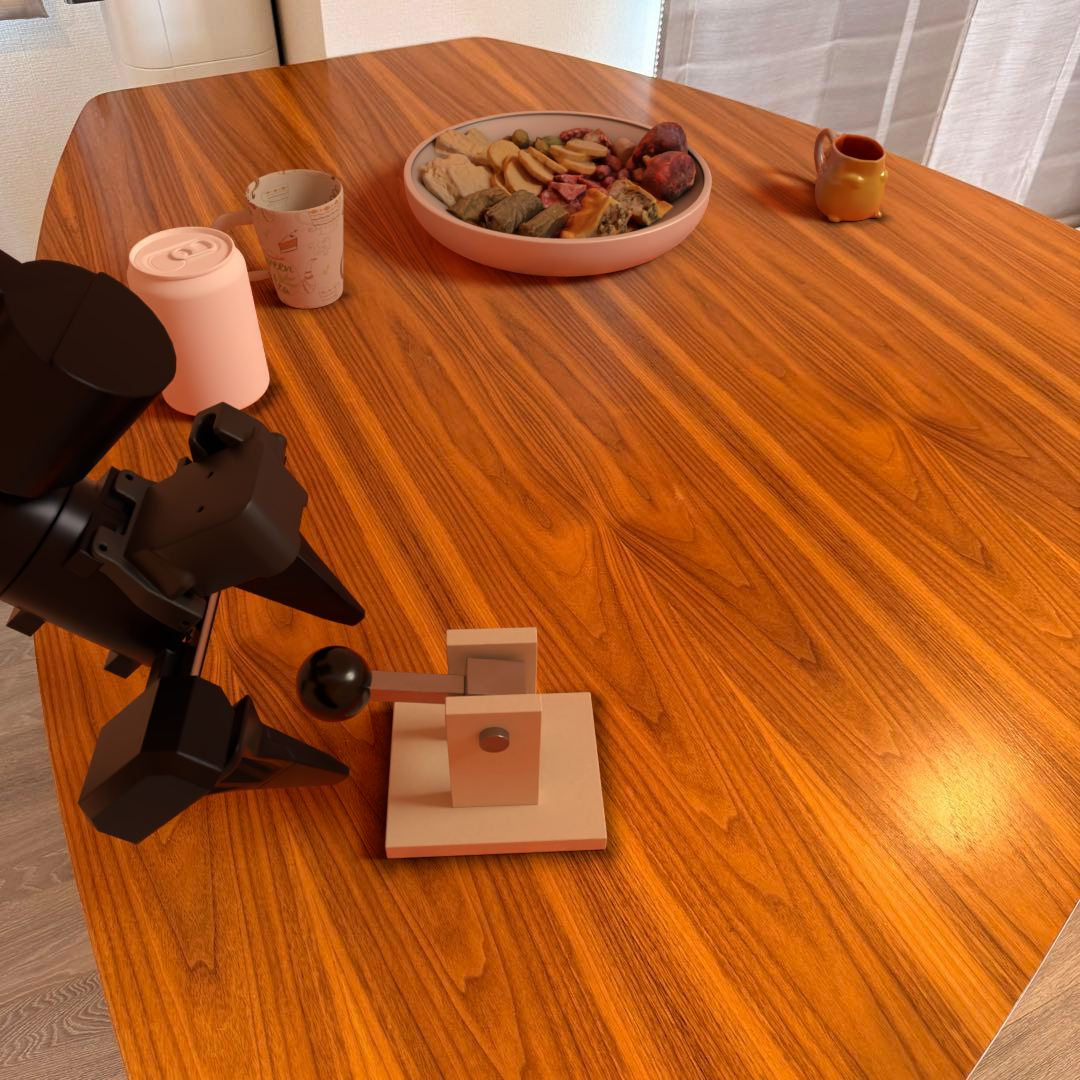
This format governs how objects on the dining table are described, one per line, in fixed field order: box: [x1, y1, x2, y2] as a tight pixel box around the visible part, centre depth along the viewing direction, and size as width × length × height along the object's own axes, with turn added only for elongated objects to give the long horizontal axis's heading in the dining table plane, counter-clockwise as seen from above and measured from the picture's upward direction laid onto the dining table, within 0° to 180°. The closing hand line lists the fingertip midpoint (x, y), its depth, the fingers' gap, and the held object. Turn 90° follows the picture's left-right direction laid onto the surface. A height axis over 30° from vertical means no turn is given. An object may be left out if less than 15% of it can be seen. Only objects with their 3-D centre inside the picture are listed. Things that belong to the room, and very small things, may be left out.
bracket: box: [384, 626, 608, 859], centre depth 49 cm, size 11×9×9 cm
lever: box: [294, 644, 526, 724], centre depth 46 cm, size 11×4×4 cm, turn 93°
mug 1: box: [209, 168, 344, 310], centre depth 83 cm, size 8×12×10 cm, turn 105°
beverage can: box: [126, 226, 271, 417], centre depth 72 cm, size 8×8×12 cm
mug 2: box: [813, 127, 889, 223], centre depth 100 cm, size 12×7×7 cm, turn 10°
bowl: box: [403, 109, 713, 278], centre depth 96 cm, size 30×30×8 cm
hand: (353, 692), depth 46 cm, fingers open, 9 cm apart
